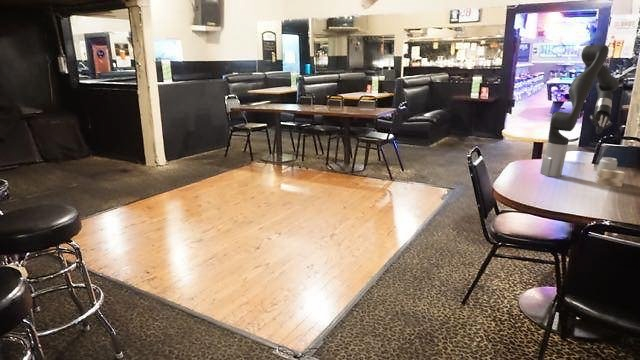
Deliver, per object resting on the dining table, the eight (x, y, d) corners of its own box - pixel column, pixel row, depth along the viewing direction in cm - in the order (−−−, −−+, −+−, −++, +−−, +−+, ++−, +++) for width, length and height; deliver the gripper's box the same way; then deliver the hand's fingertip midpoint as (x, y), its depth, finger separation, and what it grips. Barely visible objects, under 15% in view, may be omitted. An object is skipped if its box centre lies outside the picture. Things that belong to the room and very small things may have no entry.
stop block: (598, 184, 208) (601, 170, 206) (596, 182, 212) (599, 168, 210) (621, 186, 205) (625, 173, 203) (618, 184, 209) (622, 171, 207)
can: (615, 183, 210) (621, 160, 207) (599, 182, 211) (605, 159, 208) (608, 179, 217) (613, 156, 214) (592, 178, 218) (598, 156, 215)
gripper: (597, 99, 231) (592, 125, 225) (619, 109, 231) (615, 134, 224) (587, 106, 238) (582, 131, 232) (608, 116, 238) (604, 140, 231)
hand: (598, 133), depth 228 cm, fingers closed
